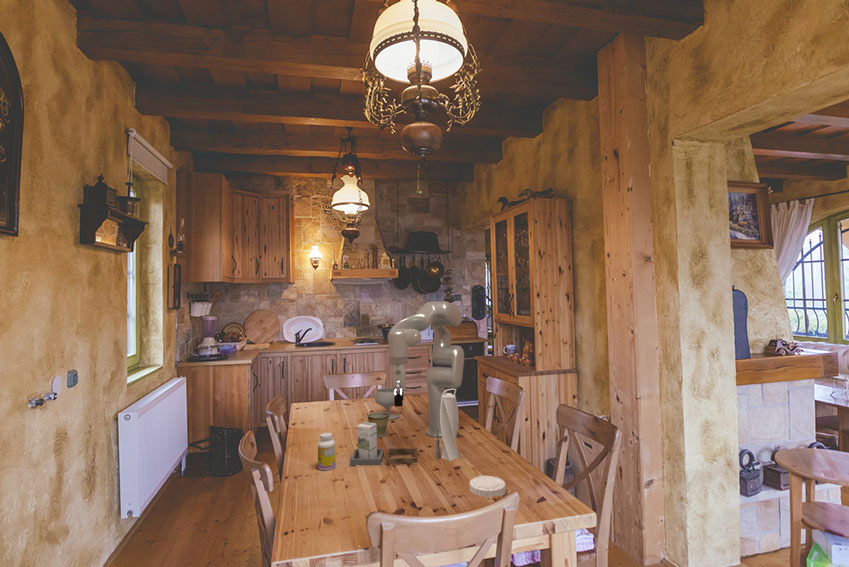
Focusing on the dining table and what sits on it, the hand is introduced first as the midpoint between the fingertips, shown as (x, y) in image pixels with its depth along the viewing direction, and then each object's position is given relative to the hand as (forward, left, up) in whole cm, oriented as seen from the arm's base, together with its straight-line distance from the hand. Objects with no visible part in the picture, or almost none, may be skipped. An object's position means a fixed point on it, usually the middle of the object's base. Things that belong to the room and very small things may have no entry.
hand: (399, 403), depth 178 cm
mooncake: (-31, +31, -23) cm, 49 cm away
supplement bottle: (+28, +7, -23) cm, 37 cm away
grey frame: (+13, 0, -22) cm, 26 cm away
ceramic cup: (+11, -33, -23) cm, 42 cm away
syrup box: (+13, 0, -23) cm, 26 cm away
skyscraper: (-20, +1, -23) cm, 30 cm away
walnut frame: (-1, 0, -22) cm, 23 cm away
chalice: (+10, -64, -23) cm, 69 cm away
